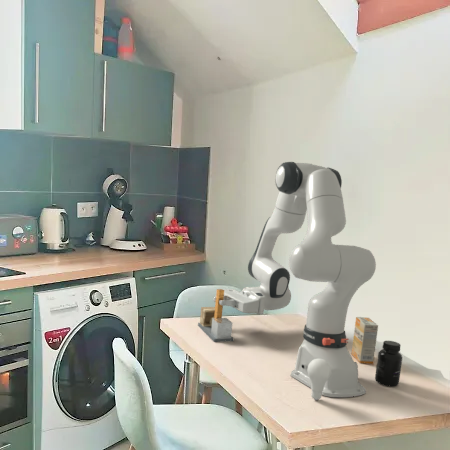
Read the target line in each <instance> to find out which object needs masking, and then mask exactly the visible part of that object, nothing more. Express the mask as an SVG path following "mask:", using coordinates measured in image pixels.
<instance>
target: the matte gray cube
mask: <svg viewBox="0 0 450 450" xmlns="http://www.w3.org/2000/svg"><path fill="white" fill-rule="evenodd" d="M232 331H233V322H232V320H229V318H227V317H222V318H212V328H211V334H212V335H213V336H214V337H215V338H216V339H229V338H231V337H232V334H233V333H232Z"/></svg>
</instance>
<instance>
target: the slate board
mask: <svg viewBox="0 0 450 450" xmlns="http://www.w3.org/2000/svg"><path fill="white" fill-rule="evenodd" d="M197 326H198V327H199V328H200V329H201V330H202V332H204V334H206V336H208V337H209V339H210V340H211V341H212V342H213V343H222V342H223V343H224V342H227V343H228V342H234V339H235V338H234V337H232V336H231V338H229V339H216V338H215V337H214V336H213V335H212V334H211V328H212V326H202V325H201V324H200V322H198V323H197Z"/></svg>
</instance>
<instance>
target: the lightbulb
mask: <svg viewBox="0 0 450 450" xmlns="http://www.w3.org/2000/svg"><path fill="white" fill-rule="evenodd" d="M307 371H308V375H309V378H310V380H311V388H310V390H311V394H310V395H311V398H312V399H314V401H318V400H320V399H322V396H323V395H322V391H323V388H324V385H325V383H326V381H327V380H328V379H329V377H330V375H331V367H330V365H329V363H328V362H327V361H325V360H324V359H319V358H318V359H314V360H312V361H311V362H310V363H309V365H308V369H307Z"/></svg>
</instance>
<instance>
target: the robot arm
mask: <svg viewBox="0 0 450 450" xmlns="http://www.w3.org/2000/svg"><path fill="white" fill-rule="evenodd" d="M274 180H275V181H274V182H275V186H276V188H277V189H278V191H279V192H278V195H277V197H276V201H275V205H274V209H273V212H272V214H271V216H269V217H268V219H267V220H266V221H265V224H264V226H263V228H262V230H261V231H262V232H261V233H260V237H259V240H258V242H257V246H256V248H255V251H254V253H253V255H251V258H250V260H249V262H248V264H247V270H248V275H250V277H252V278H253V279H255V280H256V281H258V282H259V283H260V285H259V286H246V287H244V288H243V289H242V290H241V291H239V290H237V289H234V288H222V289H223V290H224V299H222V300H219V304H220V305H222V306H223V307H224V306H225V307H231V308H233V309H236V310H238V312H239V311H240V312H241V313H243V314H257V315H264V312H265V311H277V310H281V309H284V308H285V307H287V306H288V305H289V304H290V303H291V300H292V293H291V290H290V287H289V284H290V281H291V275H290V272H291V273H292V275H293V276H294V277H295V278H297V279H300V280H303V281H307V282H315V283H317V282H319V283H327V285H326V286H325V288H324V289H323V290H321V291H320V292H318V293H316V294H314V295H313V296H312V297H311V298H310V300H309V301H308V307H307V315H306V322H305V325H304V328H303V331H302V332H303V334H302V337H303V341H302V343H301V345H300V346H299V348H298V351H297V355H296V359H295V367H294V369H292V370H291V371H290V376H291V377H292V378H294V379H296V381H297V380H298V382H301V383H302V384H303V385H305V386H307V387H309V388H310V389H311V380H310V378H309V375H308V371H307V369H308V365H309V363H310V362H311V361H312V360H314V359H318V358H319V359H324V360H325V361H327V362H328V363H329V365H330V367H331V375H330V377H329V379H328V380H327V381H326V383H325V385H324V388H323V391H322V395H321V396H325V397H331V398H352V397H353V396H354V397H359V396H362V395H365V394H366V392H367V389H366V387H364V385H362V384H361V382H359V369H358V366H359V364H358V362H357V361H354V359H353V357H352V354H350V351H349V350H348V348H347V343H349V338H347V333H346V330H345V326H346V321H347V320H346V319H347V314H348V309H349V306H350V303H351V301H352V299H353V296H354V295H355V293H356V292H357V291H358V290H359V289H360V287H362V286H363V285H365V283H367V282H369V281H370V280H371V279H372V278H373V276H374V275H375V272H376V268H377V267H376V266H377V263H376V258H375V256H374V254H373V253H372V251H371V250H369V249H367V248H363V247H361V246H356V245H350V244H349V245H347V244H346V245H344V244H334V243H333V241H332V238H333V237H334V236H337V235H338V234H340V233H341V232H343V230H344V228H345V227H346V224H347V219H346V211H345V206H344V205H345V204H344V198H343V192H342V183H343V182H342V181H343V180H342V175H341V174H340V172H339V171H338V170H336V169H335V168H332V167H325V166H322V165H316V164H312V163H308V162H294V161H285V162H283V163H281V164H280V165H279V166H278V167H277V169H276V172H275V179H274ZM306 214H307V231H306V234H305V236H304V238H303V240H302V241H301V242H299V243H298V244H297V245H296V246H295V247H293V249H292V251H291V252H290V255H289V258H288V265H289V266H288V267H289V269H290V272H289V270H288V269H287V268H285V267H284V266H283V265H282V264H280V263H279V262H277V261H275V260H274V258H273V256H272V253H273V249H274V247H275V245H276V242H277V239H278V237H279V236H280V235H281V234H293V233H295V232H298V231H299V230H300V229H301V228H302V226H303V224H304V222H305V218H306ZM216 293H217V289H216V291H215V294H216ZM213 302H214V303H216V296H214V297H213Z"/></svg>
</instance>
